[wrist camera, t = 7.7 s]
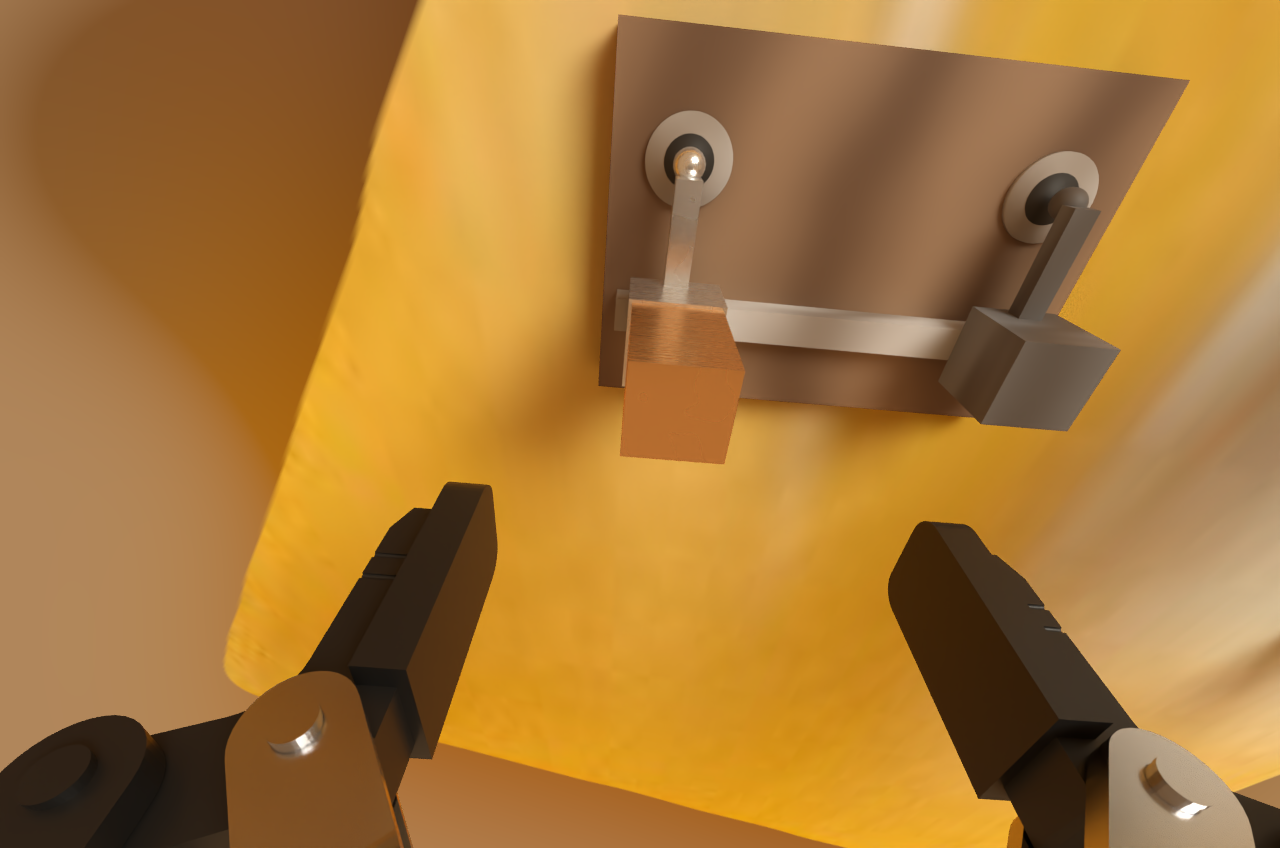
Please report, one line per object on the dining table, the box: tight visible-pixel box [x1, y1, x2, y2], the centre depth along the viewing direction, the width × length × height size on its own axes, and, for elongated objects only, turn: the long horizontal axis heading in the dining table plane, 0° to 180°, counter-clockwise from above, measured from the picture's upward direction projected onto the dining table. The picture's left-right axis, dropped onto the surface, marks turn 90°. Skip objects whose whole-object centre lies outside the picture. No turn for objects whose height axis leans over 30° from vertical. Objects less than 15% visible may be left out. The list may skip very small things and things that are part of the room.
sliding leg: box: [620, 146, 745, 464], centre depth 15 cm, size 3×7×7 cm, turn 175°
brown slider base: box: [599, 15, 1190, 431], centre depth 17 cm, size 17×12×6 cm
